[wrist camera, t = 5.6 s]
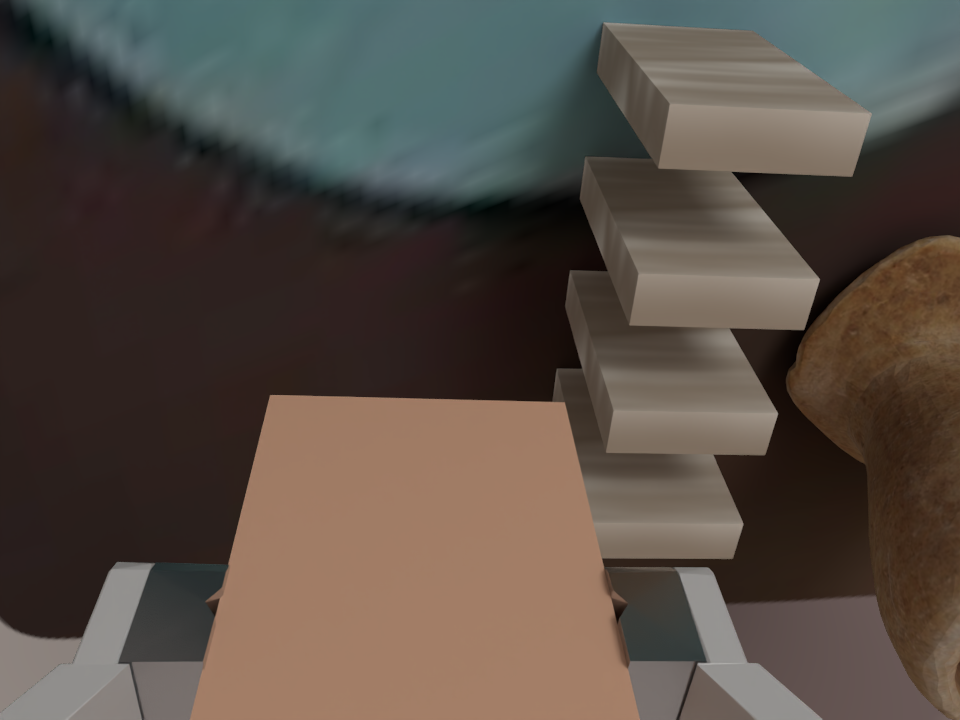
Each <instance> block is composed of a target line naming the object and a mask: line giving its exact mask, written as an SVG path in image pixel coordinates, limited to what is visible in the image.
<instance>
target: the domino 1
mask: <svg viewBox="0 0 960 720" xmlns="http://www.w3.org/2000/svg"><path fill="white" fill-rule="evenodd" d="M228 565H230V570H229V574H228V578H227V582H226V586H225V590H224V594H223V596H222V597H221V598H220V600H219V604H218V608H217V612H216V616H215V621H216V626H215V630H214V634H213V638H212V642H211V646H210V650H209V654H208V658H207V661H206V665H205V669H204V670H202V673H201V677H200V681H199V685H198V689H197V693H196V697H195V701H194V705H193V709H192V713H191V717H190V720H640V718H639V714H638V709H637V705H636V701H635V697H634V692H633V688H632V684H631V680H630V676H629V671H628V667H627V663H626V659H625V654H624V650H623V646H622V642H621V638H620V634H619V630H618V625H617V621H616V616H615V612H614V608H613V604H612V599H611V596H610V591H609V587H608V583H607V578H606V574H605V570H604V566H603V561H602V557H601V553H600V549H599V545H598V540H597V536H596V532H595V528H594V523H593V519H592V515H591V511H590V506H589V502H588V498H587V494H586V490H585V485H584V481H583V477H582V473H581V468H580V464H579V460H578V456H577V452H576V447H575V443H574V439H573V435H572V430H571V426H570V422H569V418H568V414H567V409H566V405H565V402H531V401H491V400H451V399H411V398H371V397H331V396H291V395H270V398H269V402H268V406H267V410H266V414H265V419H264V423H263V427H262V431H261V435H260V439H259V443H258V447H257V451H256V455H255V459H254V463H253V467H252V471H251V475H250V479H249V483H248V487H247V491H246V495H245V499H244V503H243V507H242V511H241V515H240V519H239V523H238V528H237V532H236V536H235V540H234V544H233V548H232V552H231V556H230V560H229V564H228Z"/></svg>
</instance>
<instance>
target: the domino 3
mask: <svg viewBox="0 0 960 720" xmlns="http://www.w3.org/2000/svg"><path fill="white" fill-rule="evenodd" d="M580 201H581V203H582V206H583V209H584V211H585V214H586V216H587V219H588V221H589V224H590V226H591V229H592V231H593V234H594V237H595V239H596V242H597V244H598V247H599V249H600V252H601V254H602V257H603V260H604V262H605V265H606V267H607V270H608V272H609V275H610V277H611V280H612V283H613V285H614V288H615V290H616V293H617V295H618V298H619V300H620V303H621V305H622V308H623V311H624V313H625V316H626V318H627V321H628V323H629V325H633V326H670V327H706V328H743V329H780V330H804V329H805V326H806V323H807V320H808V316H809V313H810V310H811V307H812V304H813V300H814V297H815V294H816V291H817V288H818V284H819V281H820V279H819V278H818V276H817V275H816V274H815V273H814V272H813V270H812V269H811V268H810V267H809V266H808V264H807V263H806V262H805V261H804V260H803V258H802V257H801V256H800V255H799V253H798V252H797V251H796V250H795V249H794V247H793V246H792V245H791V244H790V243H789V241H788V240H787V239H786V238H785V236H784V235H783V234H782V233H781V232H780V230H779V229H778V228H777V227H776V226H775V224H774V223H773V222H772V221H771V220H770V218H769V217H768V216H767V215H766V213H765V212H764V211H763V210H762V209H761V207H760V206H759V205H758V204H757V203H756V201H755V200H754V199H753V198H752V196H751V195H750V194H749V193H748V192H747V190H746V189H745V188H744V187H743V186H742V184H741V183H740V182H739V181H738V180H737V178H736V177H735V176H734V175H733V173H732V172H731V171H707V170H684V169H660V168H658V167H657V166H656V164H655V163H654V161H653V159H638V158H615V157H592V156H585V163H584V170H583V178H582V185H581V193H580Z"/></svg>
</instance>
